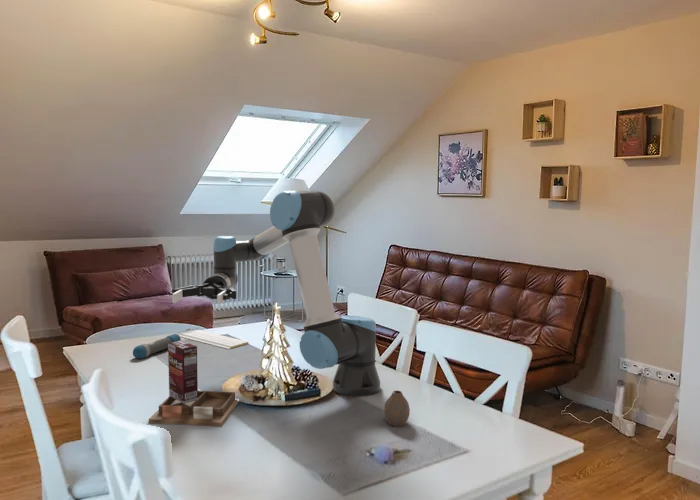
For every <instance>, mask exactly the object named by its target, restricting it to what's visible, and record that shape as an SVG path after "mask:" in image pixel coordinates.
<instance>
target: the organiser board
mask: <svg viewBox="0 0 700 500" xmlns="http://www.w3.org/2000/svg"><path fill="white" fill-rule="evenodd" d="M235 398H236V392H235V391H214V390H213V391H211V390H198V400H196V401H192V402H189V403H185V404H183V403H182V402H180V401H178V400H176V399H175V398H173V397H171V396H169V395H168V397H167V398H166V399H165V400H164V401H163V402H162V403H161V404H159V406H158V410H156V411H155V412H154V413H153V414H152V415H151V416H150V417H149V418H148V419H147V420H148V423H149V424H165V425H166V424H169V425H171V424H172V425H188V426H189V425H191V426H209V427H210V426H212V427H213V426H215V427H222V426H223V425H224V424H225V422H226V421H227V419H228V418H229V417H230V415H231V413H232V412H233V411H234V410H235V408H236V407H237V406H236V405H238V404H239V403H238V401H237V400H235Z"/></svg>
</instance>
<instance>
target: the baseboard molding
mask: <svg viewBox="0 0 700 500" xmlns="http://www.w3.org/2000/svg"><path fill="white" fill-rule="evenodd" d="M186 331H187V332H185V331H183V330H182V332H180V331H179V332H178V335H179V334H180V333H181V334H180V335H179V337H180V338H182V339H183V338H184V339H187V340H191V341H194V342H199V343H203V344H206V345H210V346H214V347H218V348H220V349H221V348H222V349H226V350H231V349H235V348H238V347H242V346H245V345H248V344H249V341H246V340H243V339H237V338H233V337H230V336H225V335H222V334H217V333H214V332H209V331H206V330H205V331H204V330H201V329H196V330H194V328H192V329H191V331H189V328H188V329H186ZM183 332H184V333H183Z"/></svg>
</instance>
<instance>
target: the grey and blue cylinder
mask: <svg viewBox="0 0 700 500" xmlns="http://www.w3.org/2000/svg"><path fill="white" fill-rule="evenodd" d="M180 340H182V339H181V337H179V334H178V333H173V334H170V335H167V336H166V337H164V338H160V339H158V340H155V341H153V342H149V343H142V344H140V345H137V346H134V348H133V349H132V356H133V358H135V359H137V360H142V359H145V358H147V357H149V356H150V355H153V354H156V353H158V352H162V351H163V350H167V349H168V343H170V342H175V341H180Z"/></svg>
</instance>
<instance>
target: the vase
mask: <svg viewBox="0 0 700 500" xmlns="http://www.w3.org/2000/svg"><path fill="white" fill-rule="evenodd" d="M383 408H384V409H383V413H384V417H385V420H386V422H388V424H390V425H391V426H395V427H400V426H403V425H405V424H406V423H407V422H408V420H409V417H410V410H411V409H410V405H409V402H408V400H407V398H406V397H405V396H404V395H403V392H402V390H394V391H392V393H391V395H390V396H389V397H388V398H387V400H386V401H385V403H384V407H383Z"/></svg>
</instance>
